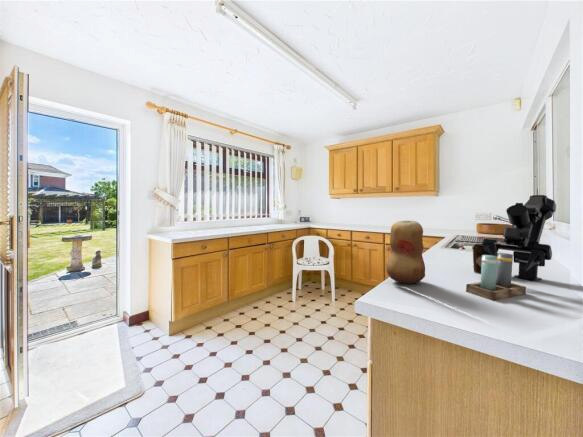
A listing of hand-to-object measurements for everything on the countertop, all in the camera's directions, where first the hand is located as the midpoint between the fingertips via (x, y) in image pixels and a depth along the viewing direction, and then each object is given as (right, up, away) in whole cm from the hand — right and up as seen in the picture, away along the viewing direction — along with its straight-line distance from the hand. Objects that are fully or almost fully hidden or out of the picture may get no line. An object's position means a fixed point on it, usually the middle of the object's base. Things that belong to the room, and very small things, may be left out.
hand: (508, 267), depth 88 cm
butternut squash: (-33, -9, +8) cm, 36 cm away
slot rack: (-8, -9, -4) cm, 13 cm away
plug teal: (-12, -8, -5) cm, 15 cm away
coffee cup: (+9, -8, +24) cm, 26 cm away
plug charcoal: (-4, -8, -2) cm, 9 cm away
